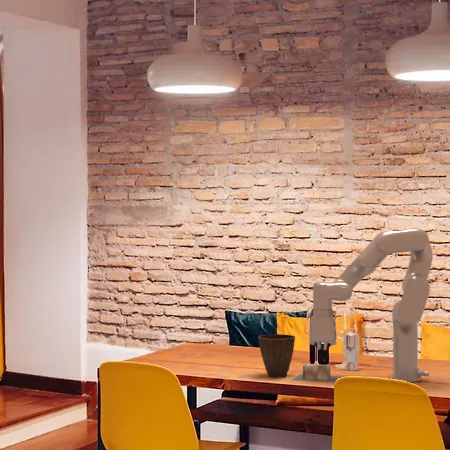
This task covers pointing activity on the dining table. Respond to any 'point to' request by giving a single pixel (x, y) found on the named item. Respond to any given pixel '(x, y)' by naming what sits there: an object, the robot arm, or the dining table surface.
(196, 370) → the dining table surface
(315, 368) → the capped block
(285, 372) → the plant pot
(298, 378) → the rubber mat
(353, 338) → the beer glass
